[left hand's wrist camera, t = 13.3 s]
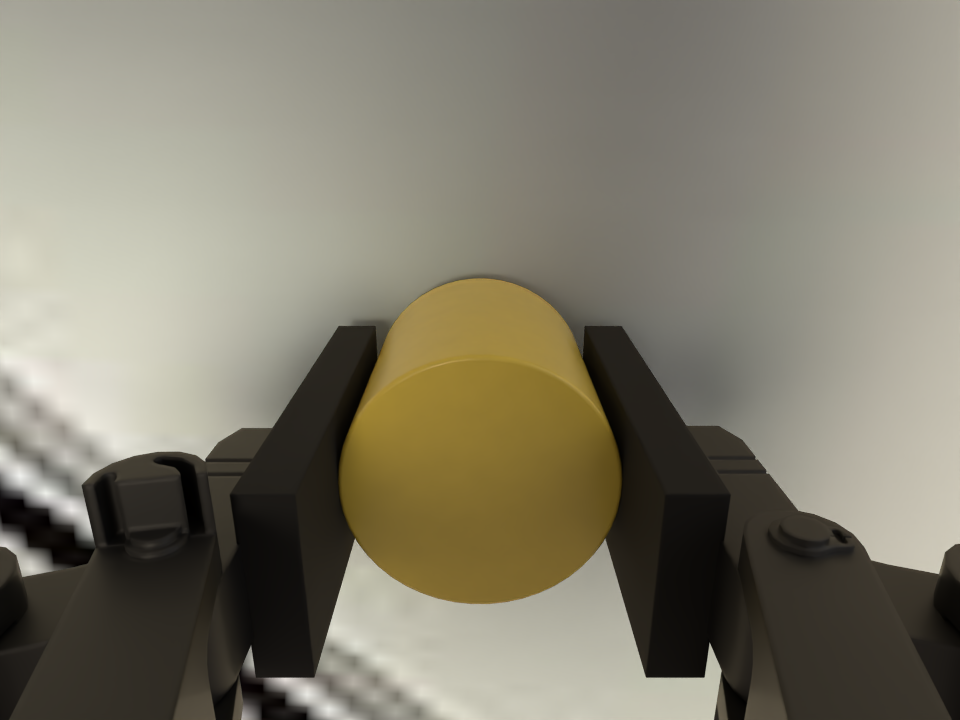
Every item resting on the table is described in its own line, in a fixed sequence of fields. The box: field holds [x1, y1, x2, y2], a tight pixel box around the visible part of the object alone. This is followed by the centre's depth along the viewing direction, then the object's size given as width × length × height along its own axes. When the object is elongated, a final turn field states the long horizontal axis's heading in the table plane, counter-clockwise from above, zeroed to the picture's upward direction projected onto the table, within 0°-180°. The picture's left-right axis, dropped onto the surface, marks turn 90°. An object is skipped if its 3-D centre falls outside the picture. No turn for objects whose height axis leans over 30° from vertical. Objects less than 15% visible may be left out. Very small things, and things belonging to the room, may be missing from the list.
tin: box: [338, 279, 622, 604], centre depth 12 cm, size 4×4×5 cm
